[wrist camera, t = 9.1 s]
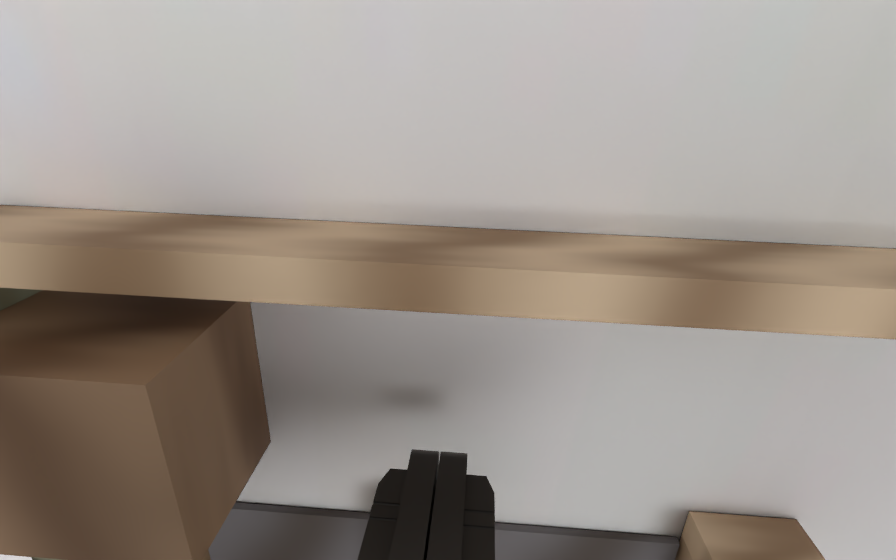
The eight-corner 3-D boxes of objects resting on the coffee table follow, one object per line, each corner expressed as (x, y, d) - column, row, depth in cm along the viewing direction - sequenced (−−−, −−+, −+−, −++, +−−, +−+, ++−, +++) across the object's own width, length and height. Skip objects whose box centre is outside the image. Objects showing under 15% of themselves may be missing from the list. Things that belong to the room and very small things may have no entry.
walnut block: (250, 289, 15) (145, 385, 10) (272, 438, 17) (195, 571, 12) (66, 278, 15) (-117, 367, 10) (113, 427, 17) (-18, 552, 13)
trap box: (919, 250, 13) (1040, 297, 10) (736, 652, 20) (776, 745, 17) (-1, 205, 14) (-120, 236, 11) (139, 599, 21) (87, 676, 18)
